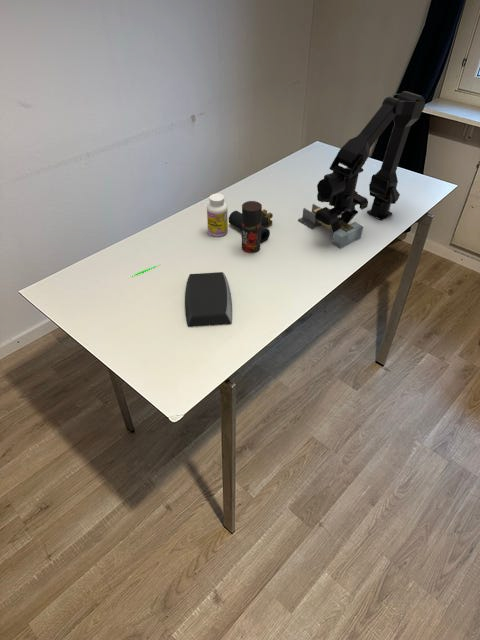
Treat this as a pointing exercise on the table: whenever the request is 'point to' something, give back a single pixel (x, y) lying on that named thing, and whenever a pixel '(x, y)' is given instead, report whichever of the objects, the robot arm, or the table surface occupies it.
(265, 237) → the pipe connector
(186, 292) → the external hard drive
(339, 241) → the slate-blue socket
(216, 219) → the supplement bottle
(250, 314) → the table surface
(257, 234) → the deodorant
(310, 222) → the grey sleeve
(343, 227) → the tan square rod
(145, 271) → the pen
